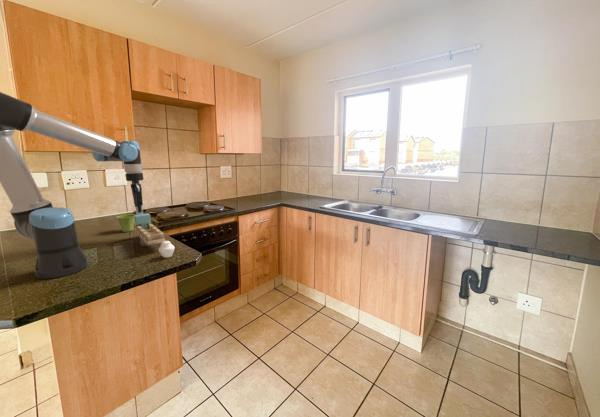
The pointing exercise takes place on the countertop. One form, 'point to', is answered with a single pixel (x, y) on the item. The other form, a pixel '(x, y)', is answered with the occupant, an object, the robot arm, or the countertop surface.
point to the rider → (142, 220)
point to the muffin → (166, 249)
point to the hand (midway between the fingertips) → (140, 218)
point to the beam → (149, 235)
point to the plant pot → (126, 222)
